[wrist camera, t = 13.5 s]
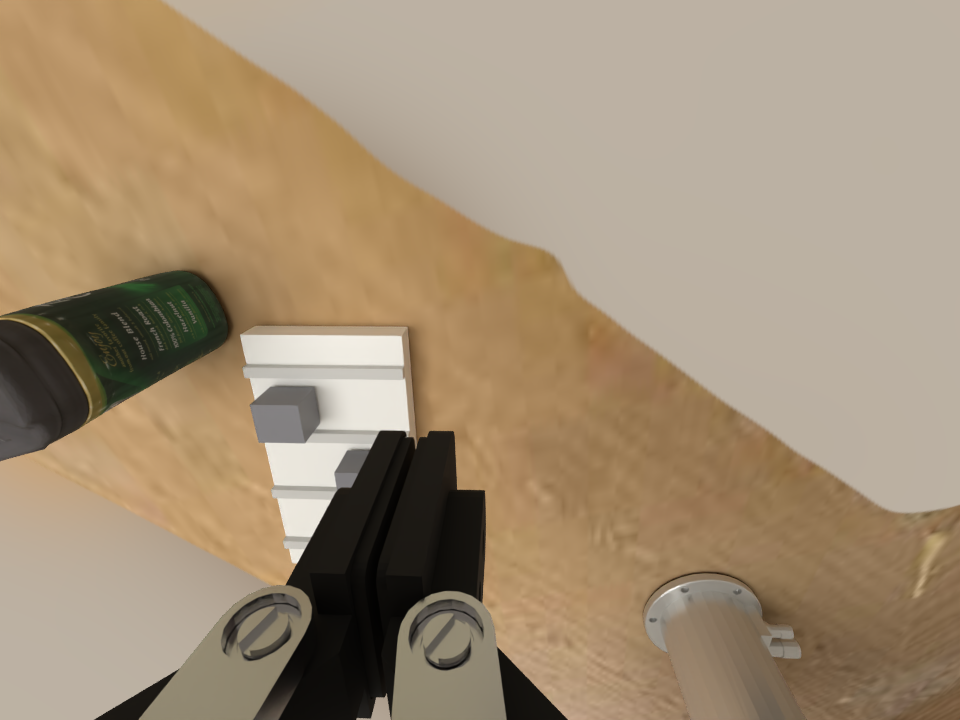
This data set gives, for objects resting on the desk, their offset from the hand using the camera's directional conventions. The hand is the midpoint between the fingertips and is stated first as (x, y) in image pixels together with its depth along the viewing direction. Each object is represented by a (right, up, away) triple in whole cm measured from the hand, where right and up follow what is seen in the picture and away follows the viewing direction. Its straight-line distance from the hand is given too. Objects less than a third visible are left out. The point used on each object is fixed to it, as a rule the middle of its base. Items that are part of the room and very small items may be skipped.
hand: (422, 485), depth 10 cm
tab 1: (-15, -1, +30) cm, 34 cm away
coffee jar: (-26, +7, +31) cm, 41 cm away
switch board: (-12, -6, +35) cm, 37 cm away
